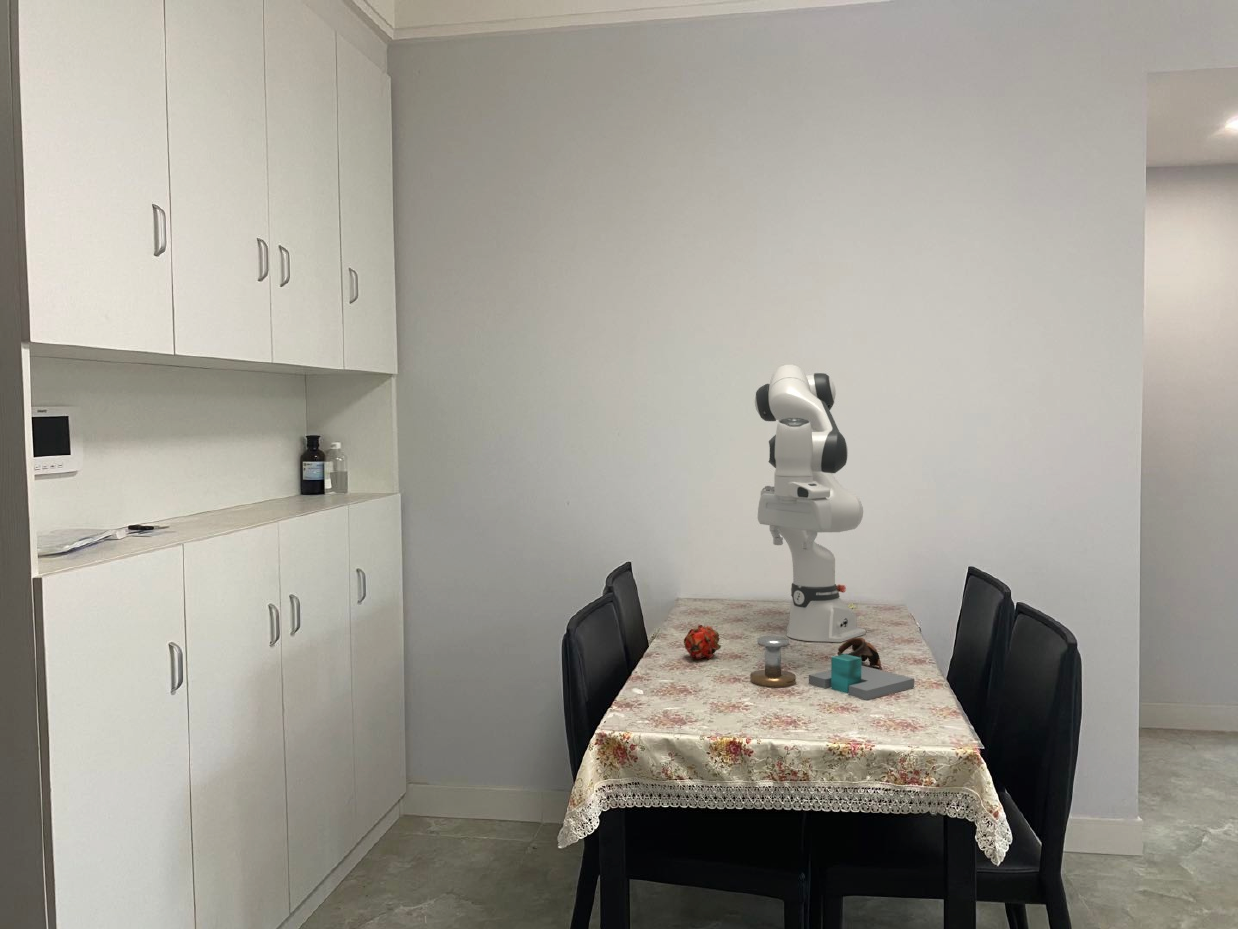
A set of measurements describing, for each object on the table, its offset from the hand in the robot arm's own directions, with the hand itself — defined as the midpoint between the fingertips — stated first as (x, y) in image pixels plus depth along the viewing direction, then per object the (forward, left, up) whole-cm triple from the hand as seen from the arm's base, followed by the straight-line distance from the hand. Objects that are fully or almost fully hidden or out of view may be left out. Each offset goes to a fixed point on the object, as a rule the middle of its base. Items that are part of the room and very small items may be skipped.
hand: (792, 547), depth 233 cm
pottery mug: (-13, +9, -29) cm, 33 cm away
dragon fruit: (+10, -20, -29) cm, 37 cm away
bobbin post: (+12, +6, -29) cm, 32 cm away
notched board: (-1, +20, -29) cm, 35 cm away
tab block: (+4, +20, -29) cm, 35 cm away
